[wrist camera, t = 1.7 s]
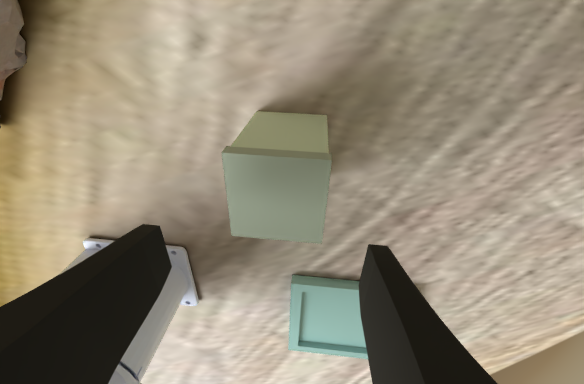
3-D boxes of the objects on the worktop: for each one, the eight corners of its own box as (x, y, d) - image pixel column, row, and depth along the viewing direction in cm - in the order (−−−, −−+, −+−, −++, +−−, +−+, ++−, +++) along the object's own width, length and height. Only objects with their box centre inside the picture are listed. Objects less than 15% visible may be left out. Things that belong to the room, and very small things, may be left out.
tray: (289, 340, 30) (288, 349, 30) (292, 274, 25) (291, 283, 24) (388, 352, 30) (390, 361, 29) (415, 286, 24) (419, 296, 23)
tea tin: (258, 173, 19) (231, 235, 14) (255, 109, 17) (221, 152, 11) (322, 178, 19) (321, 243, 13) (328, 113, 17) (331, 160, 11)
